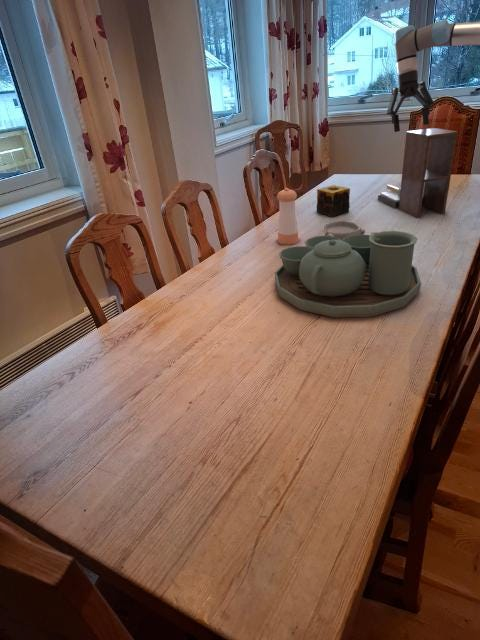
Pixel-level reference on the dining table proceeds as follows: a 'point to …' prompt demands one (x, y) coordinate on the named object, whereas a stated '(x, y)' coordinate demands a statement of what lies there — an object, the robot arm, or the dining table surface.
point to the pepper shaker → (287, 217)
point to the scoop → (394, 189)
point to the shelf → (433, 176)
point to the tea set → (350, 274)
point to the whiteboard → (390, 198)
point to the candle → (333, 200)
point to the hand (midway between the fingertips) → (411, 128)
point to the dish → (342, 229)
